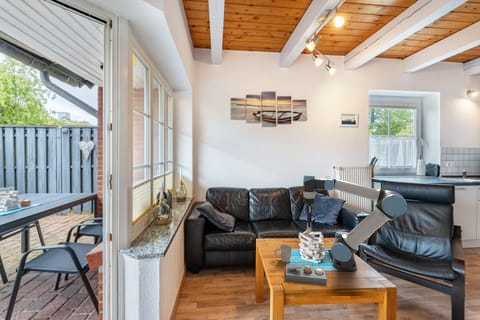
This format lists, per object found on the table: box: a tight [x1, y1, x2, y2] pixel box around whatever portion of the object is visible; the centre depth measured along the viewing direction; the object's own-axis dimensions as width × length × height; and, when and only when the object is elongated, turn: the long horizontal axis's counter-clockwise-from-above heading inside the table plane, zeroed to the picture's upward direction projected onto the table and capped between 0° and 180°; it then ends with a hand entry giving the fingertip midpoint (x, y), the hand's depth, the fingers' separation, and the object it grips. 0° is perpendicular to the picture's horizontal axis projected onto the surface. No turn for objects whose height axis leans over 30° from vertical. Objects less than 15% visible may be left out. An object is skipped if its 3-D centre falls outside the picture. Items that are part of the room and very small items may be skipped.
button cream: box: [316, 268, 323, 275], centre depth 143 cm, size 4×4×3 cm
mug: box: [274, 244, 293, 263], centre depth 167 cm, size 8×13×10 cm, turn 78°
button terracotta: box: [303, 264, 312, 273], centre depth 145 cm, size 4×4×3 cm
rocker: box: [288, 262, 302, 270], centre depth 147 cm, size 8×5×1 cm, turn 77°
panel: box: [285, 263, 328, 285], centre depth 145 cm, size 24×14×4 cm, turn 78°
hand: (309, 231), depth 157 cm, fingers closed
